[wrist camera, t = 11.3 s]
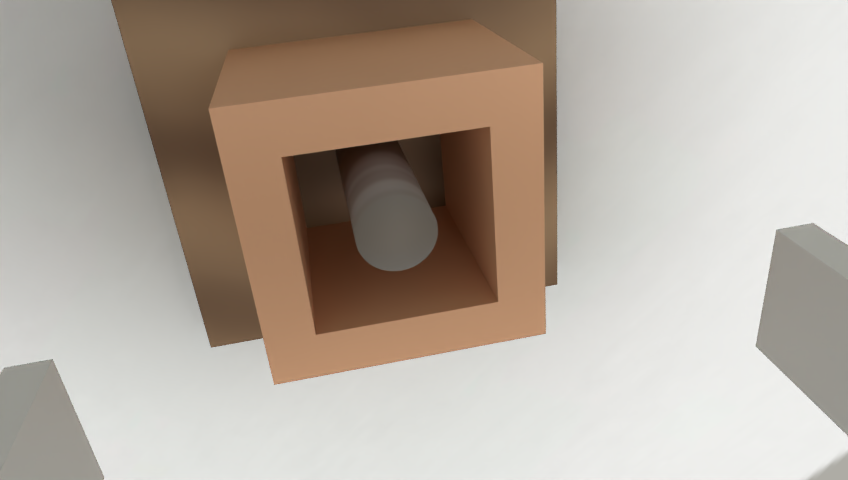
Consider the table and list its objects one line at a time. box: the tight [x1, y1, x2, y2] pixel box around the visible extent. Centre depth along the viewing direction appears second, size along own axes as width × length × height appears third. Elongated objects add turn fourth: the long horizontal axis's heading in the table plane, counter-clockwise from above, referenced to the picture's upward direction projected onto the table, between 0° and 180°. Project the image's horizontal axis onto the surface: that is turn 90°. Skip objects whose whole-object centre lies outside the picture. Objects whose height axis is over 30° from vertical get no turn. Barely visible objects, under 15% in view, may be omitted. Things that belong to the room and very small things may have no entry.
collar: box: [209, 19, 546, 385], centre depth 21 cm, size 8×8×7 cm
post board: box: [111, 0, 557, 347], centre depth 22 cm, size 14×14×8 cm
